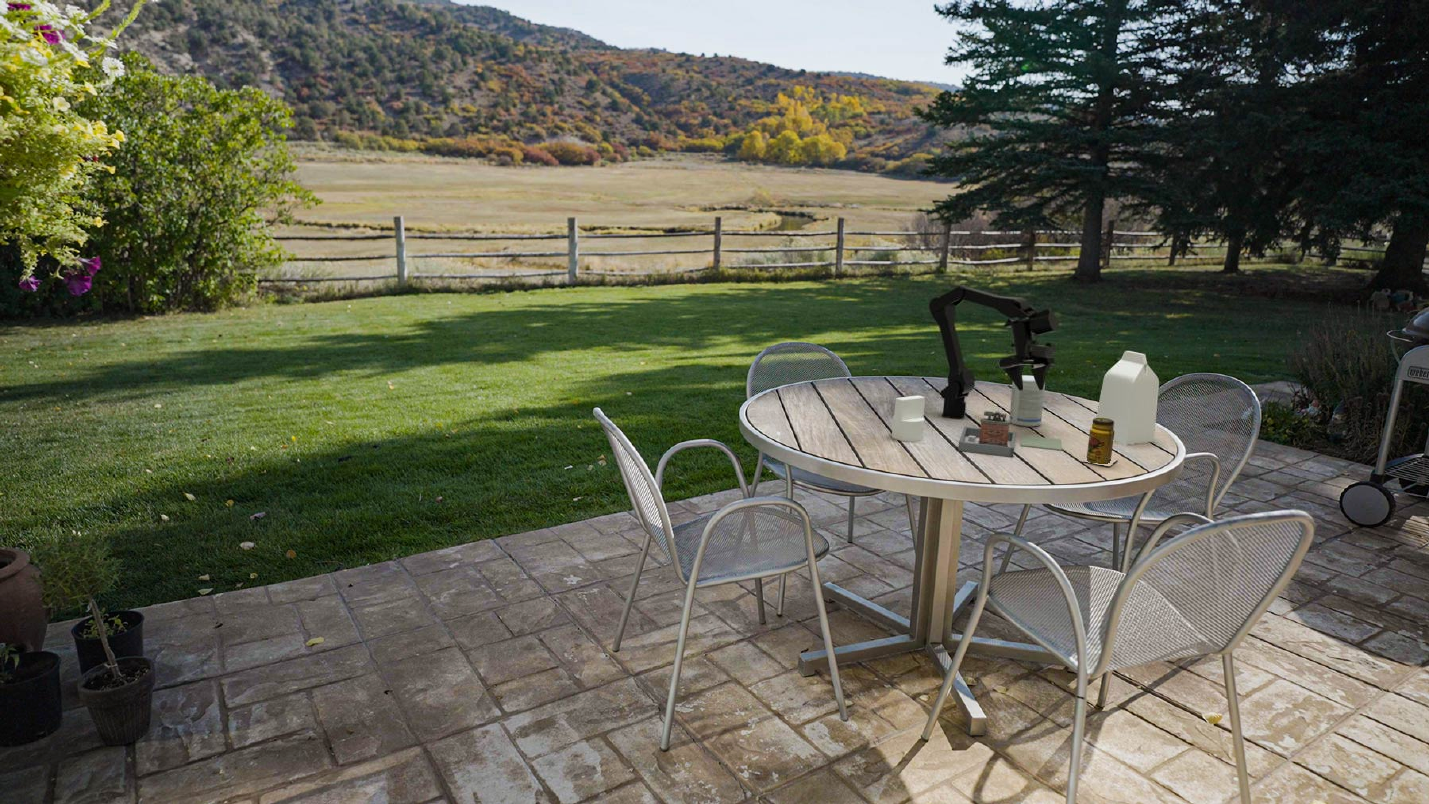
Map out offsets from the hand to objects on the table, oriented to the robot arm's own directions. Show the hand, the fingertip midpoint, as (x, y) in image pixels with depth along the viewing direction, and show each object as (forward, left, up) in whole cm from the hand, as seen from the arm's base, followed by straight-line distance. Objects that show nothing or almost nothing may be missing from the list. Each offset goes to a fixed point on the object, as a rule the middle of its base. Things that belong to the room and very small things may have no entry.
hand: (1031, 390), depth 251 cm
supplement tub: (-1, +14, -14) cm, 20 cm away
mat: (+4, -8, -14) cm, 17 cm away
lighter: (-9, -16, -14) cm, 23 cm away
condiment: (+19, -20, -14) cm, 31 cm away
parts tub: (-10, -17, -14) cm, 24 cm away
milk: (+27, +9, -14) cm, 32 cm away
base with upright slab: (-33, -18, -14) cm, 40 cm away
